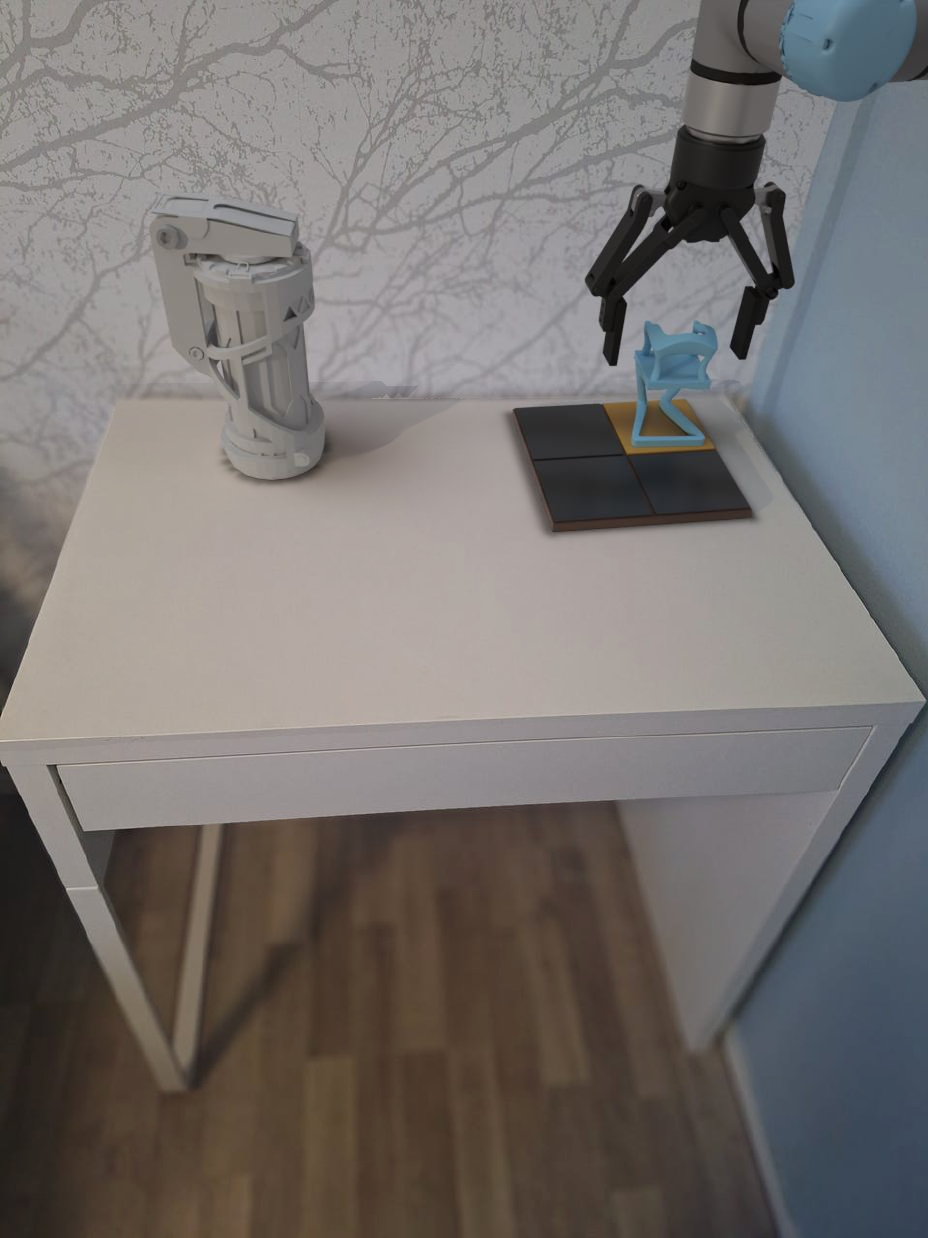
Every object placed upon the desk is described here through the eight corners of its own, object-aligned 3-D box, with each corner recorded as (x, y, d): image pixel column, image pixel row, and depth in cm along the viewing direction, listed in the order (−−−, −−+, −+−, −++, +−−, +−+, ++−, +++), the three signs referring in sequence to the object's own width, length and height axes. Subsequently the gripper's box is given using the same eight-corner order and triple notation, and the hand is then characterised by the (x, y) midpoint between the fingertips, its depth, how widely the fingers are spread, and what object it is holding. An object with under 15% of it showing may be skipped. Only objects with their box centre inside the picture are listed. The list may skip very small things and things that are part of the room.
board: (749, 517, 90) (753, 508, 90) (552, 531, 88) (553, 522, 87) (684, 406, 104) (686, 397, 103) (511, 416, 102) (512, 406, 101)
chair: (684, 403, 103) (708, 301, 94) (704, 446, 97) (732, 341, 88) (616, 404, 102) (635, 301, 93) (632, 447, 96) (653, 342, 88)
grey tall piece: (332, 425, 99) (314, 184, 81) (320, 484, 91) (297, 232, 74) (211, 420, 99) (167, 177, 81) (189, 479, 91) (135, 225, 74)
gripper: (839, 113, 83) (775, 333, 98) (570, 116, 79) (546, 343, 94) (879, 141, 77) (804, 369, 92) (592, 145, 74) (563, 381, 89)
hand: (674, 356), depth 93 cm, fingers open, 13 cm apart
